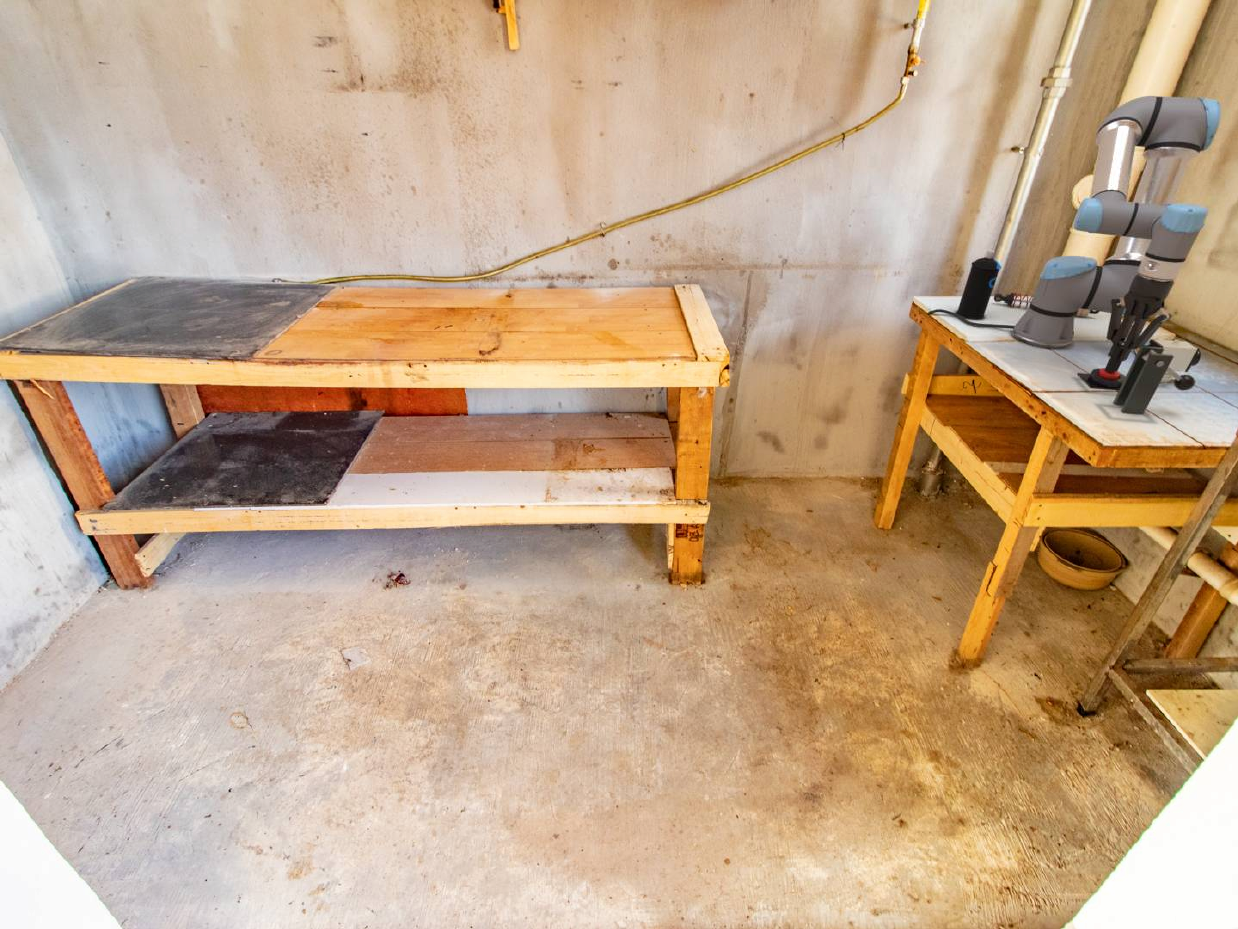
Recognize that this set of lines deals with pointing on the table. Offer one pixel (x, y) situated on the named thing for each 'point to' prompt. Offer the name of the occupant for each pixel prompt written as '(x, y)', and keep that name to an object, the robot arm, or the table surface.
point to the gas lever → (1177, 377)
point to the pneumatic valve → (1178, 355)
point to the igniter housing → (1101, 380)
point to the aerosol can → (979, 287)
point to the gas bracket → (1142, 380)
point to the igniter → (1109, 374)
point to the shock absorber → (1010, 299)
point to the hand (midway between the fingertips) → (1110, 370)
